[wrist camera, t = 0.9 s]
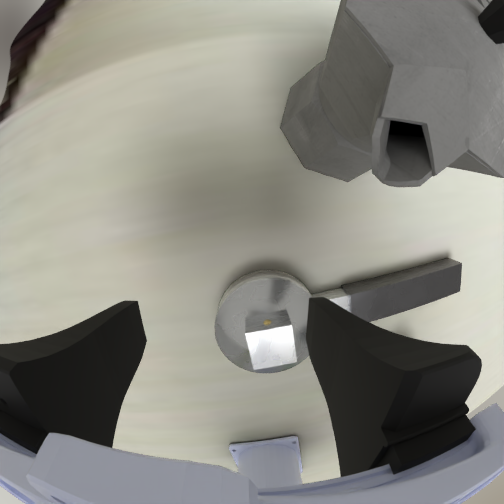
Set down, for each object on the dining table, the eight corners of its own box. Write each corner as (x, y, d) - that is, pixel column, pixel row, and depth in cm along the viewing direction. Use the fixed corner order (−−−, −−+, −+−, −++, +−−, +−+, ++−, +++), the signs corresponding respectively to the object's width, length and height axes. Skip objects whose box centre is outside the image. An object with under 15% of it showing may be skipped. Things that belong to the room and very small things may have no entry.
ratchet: (445, 307, 22) (473, 326, 18) (229, 362, 23) (226, 399, 18) (447, 231, 21) (482, 240, 16) (207, 279, 21) (197, 304, 16)
